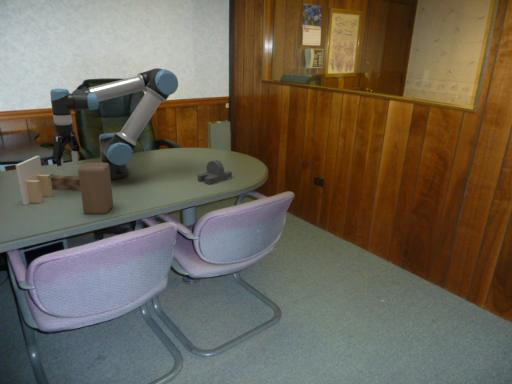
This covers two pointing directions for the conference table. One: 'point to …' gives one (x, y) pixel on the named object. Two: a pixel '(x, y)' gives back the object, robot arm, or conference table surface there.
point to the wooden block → (95, 188)
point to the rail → (65, 183)
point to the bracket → (214, 173)
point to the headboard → (33, 181)
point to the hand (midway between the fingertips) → (68, 168)
